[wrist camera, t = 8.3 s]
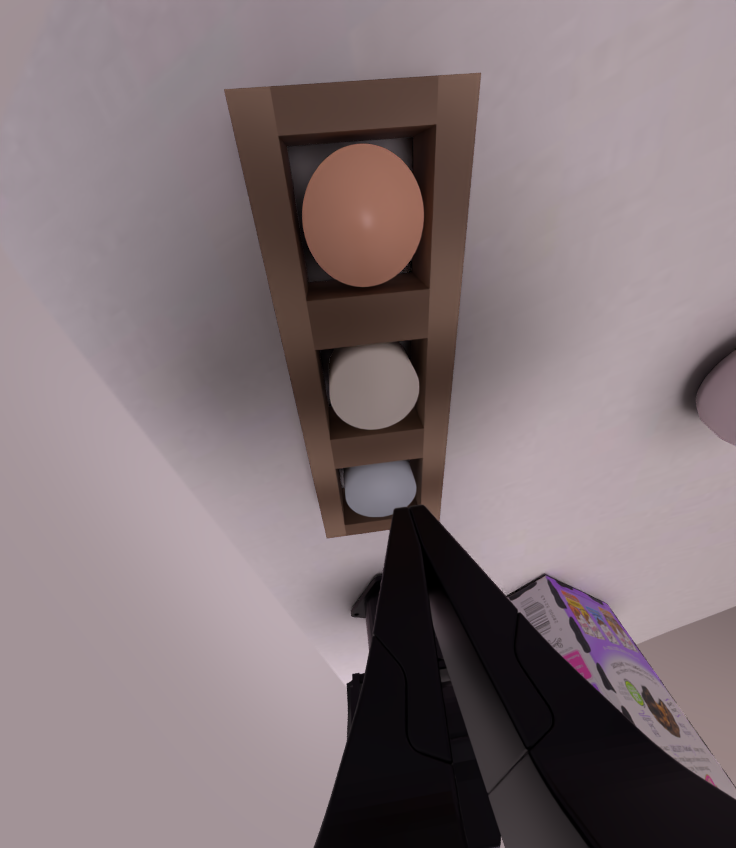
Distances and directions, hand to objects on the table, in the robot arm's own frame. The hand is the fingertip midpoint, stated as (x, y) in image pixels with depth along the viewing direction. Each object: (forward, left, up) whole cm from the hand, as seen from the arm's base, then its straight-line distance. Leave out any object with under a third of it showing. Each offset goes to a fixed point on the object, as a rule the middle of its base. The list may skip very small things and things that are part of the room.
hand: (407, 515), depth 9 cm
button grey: (-6, -3, -9) cm, 11 cm away
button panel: (0, 0, -10) cm, 10 cm away
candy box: (-19, -31, -10) cm, 37 cm away
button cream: (0, 0, -9) cm, 9 cm away
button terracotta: (+6, +3, -9) cm, 11 cm away
